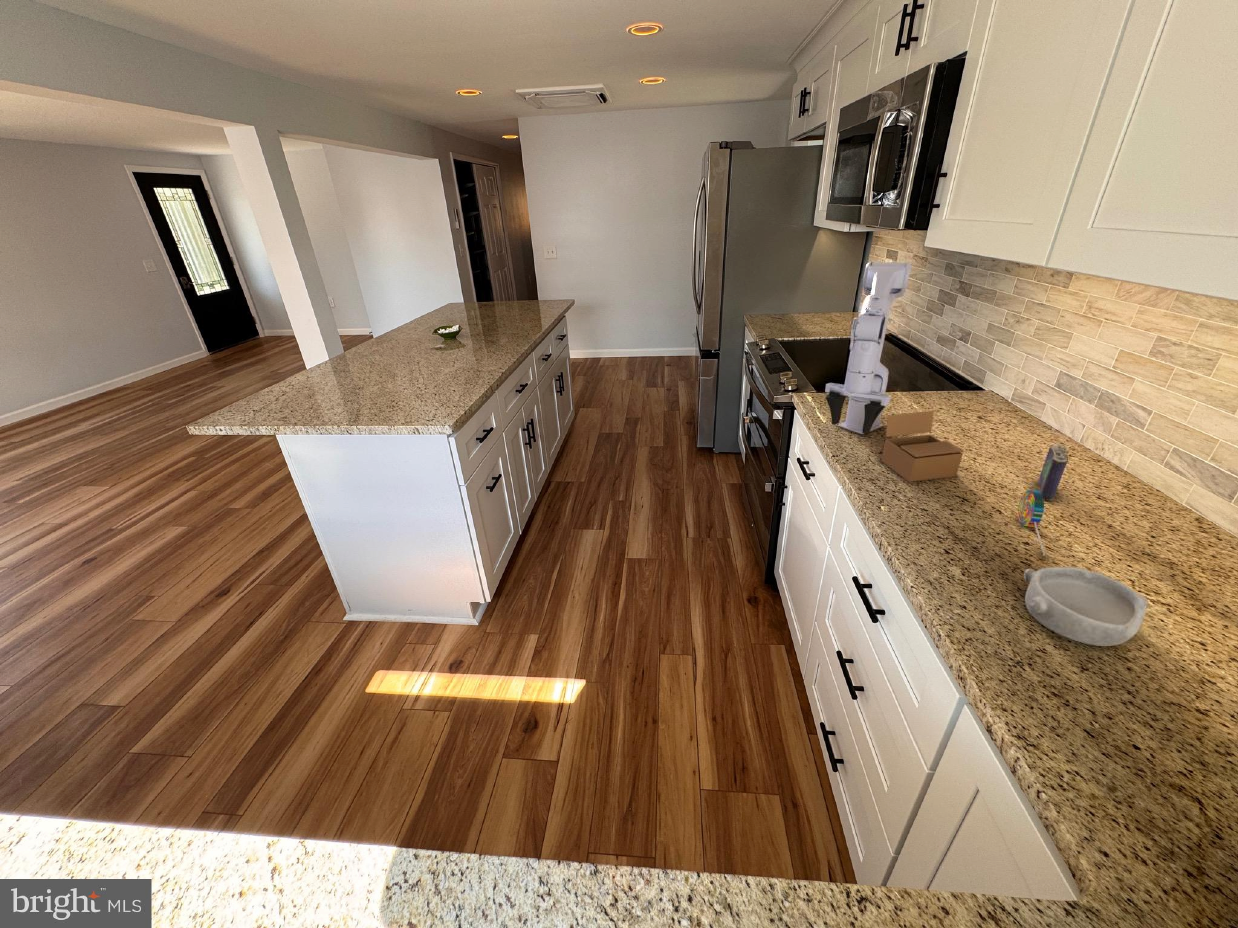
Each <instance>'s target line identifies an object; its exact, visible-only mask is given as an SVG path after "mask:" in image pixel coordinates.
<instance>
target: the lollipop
mask: <svg viewBox="0 0 1238 928" xmlns="http://www.w3.org/2000/svg"><path fill="white" fill-rule="evenodd" d="M1017 510H1018V511H1017V516H1018V521H1019V523H1020V525H1021V526H1023V527H1030V528H1035V531H1036V535H1037V538H1038V542H1039V545H1040V549H1041V551H1042V555H1043V557H1046V553H1045V549H1044V545H1043V542H1042V539H1041V535H1040V532H1039V529H1038V525H1039V524H1040V523H1041V521H1042V518H1043V515H1044V510H1045V499H1044V498H1043V495H1042V493H1041V492H1040V490H1036V489H1026V490H1025V491H1023V493H1022V494H1021V497H1020V498H1019V502H1018V508H1017Z"/></svg>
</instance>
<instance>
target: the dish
mask: <svg viewBox="0 0 1238 928" xmlns="http://www.w3.org/2000/svg"><path fill="white" fill-rule="evenodd" d="M1023 577H1024V581H1025V582H1026V583H1028V586H1027V589H1026V591H1025V595H1024V603H1025V607H1026V609H1027V611H1028V612H1029V614H1030V615H1031V616H1032V617H1033V619H1034V620H1036V621H1037V622H1038V623H1039V624H1041V625H1042V626H1044V627H1045V628H1046V629H1048V630H1050V631H1052V632H1054V633H1056V634H1057V635H1060V636H1062V637H1065V638H1066V639H1070V640H1073V641H1075V642H1078V643H1083V644H1086V645H1090V646H1098V647H1110V646H1111V647H1112V646H1118V645H1122V644H1124V643H1126V642H1128V641H1129V640H1130V639H1132V638H1133V637H1134V636H1135V635H1136V634H1137V633H1138V632H1139V630H1140V628H1141V626H1142V624H1143V622H1144V619H1145V616H1146V613H1147V610H1148V606H1149V600H1148V599H1147V597H1146V596H1145V595H1144V594H1139V593H1137V592H1136V591H1135V590H1134V589H1132V588H1131V587H1130V586H1128V585H1126V584H1124V583H1122V582H1120V581H1118V580H1117V579H1115V578H1111V577H1110V576H1108V575H1105V574H1103V573H1101V572H1097V571H1091V570H1087V569H1085V568H1082V567H1081V568H1080V567H1073V566H1072V567H1071V566H1048V567H1047V566H1046V567H1041V568H1039V569H1038V570H1035V569H1033V568H1027V569H1025V571H1024V573H1023Z"/></svg>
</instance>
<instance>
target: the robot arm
mask: <svg viewBox="0 0 1238 928" xmlns="http://www.w3.org/2000/svg"><path fill="white" fill-rule="evenodd" d="M910 262H911V261H907V262H898V261H897V262H895V261H894V262H891V261H890V262H889V261H888V262H887V261H881V262H880V261H869V262H868V263H867V264H866V265H865V268H864V274H863V278H862V286H863V292H864V296H866V297H865V298H864V299H863V302H862V304H861V307H860V310H859V313H858V316H857V317H856V316H854V318H853V321H852V325H851V329H850V344H849V350H850V352H849V355H848V356H849V357H848V362H847V367H846V368H847V369H846V374H845V380H844V384H842V383H841V384H840V383H834V382H829V383H826V384H825V390H824V391H825V392H824V393H828V394H827V395H825V400H826V402H827V404H828V407H829V411H830V418H831V419H830V420H831V425H834V426H835V425H837V424H838V425H837V426H838V427H839V428H843V429H845V430H848V431H851V432H854V433H857V434H859V435H865V434H868V433H871V432H873V431H875V430H877V429H879V428H882V427H883V426H884V425H883V424H882V423H881V419H882V415H883V411H884V409H885V408H886V407H887V406H889V405H890V404H891V398H892V395H888V394H886V391H887V387H888V381H889V375H890V374H889V373H890V371H889V369H888V367H886V366H885V365H884V364H883V363H881V357H882V352H883V348H884V343H885V338H886V333H887V328H888V323H889V319H890V314H891V309H892V306H893V303H894V302H895V300H896V299H899V298H901V297H904V295H905V293H906V291H907V288H908V283H909V279H910V275H911V270H912V264H911V263H910ZM847 397H848V399H849V400H848V405H847V410H846V416H845V421H843V422H841V417H842V411H843V407H844V404H845V401H846V399H847ZM840 422H841V423H840Z"/></svg>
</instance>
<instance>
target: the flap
mask: <svg viewBox="0 0 1238 928" xmlns="http://www.w3.org/2000/svg"><path fill="white" fill-rule="evenodd" d="M886 419H887V420H886V431H885V437H886V438H889V437H890V438H891V437H897V436H898V437H899V436H907V435H908V436H909V435H917V434H927V433H928V434H929V433H932V430H933V429H932V428H933V420H934V410H928V411H927V410H925V411H917V412H916V411H915V412H907V413H899V414H898V413H897V414H889V415H887V417H886Z"/></svg>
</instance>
